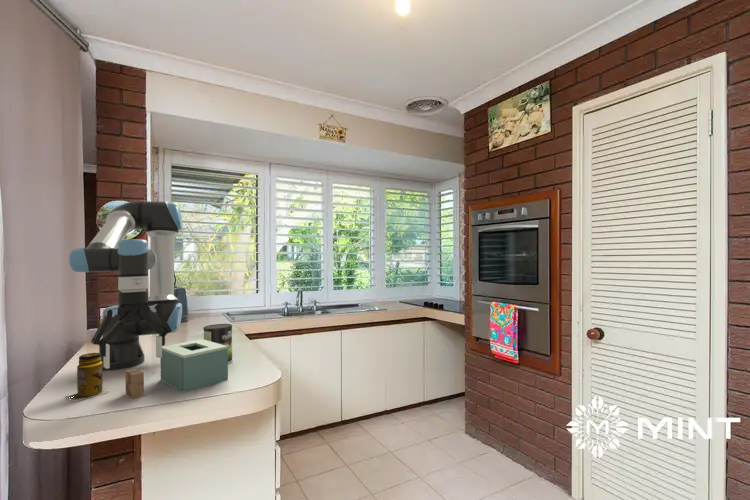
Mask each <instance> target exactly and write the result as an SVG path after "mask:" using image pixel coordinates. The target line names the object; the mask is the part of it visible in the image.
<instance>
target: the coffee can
mask: <svg viewBox="0 0 750 500" xmlns="http://www.w3.org/2000/svg"><path fill="white" fill-rule="evenodd" d="M202 329H203V339H204V340H207V341H211V342H214V343H218V344H222V345H225V346H228V365H229V364H230V363H232V362H233V324H231V323H216V324H209V325H205V326H203V328H202Z"/></svg>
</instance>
